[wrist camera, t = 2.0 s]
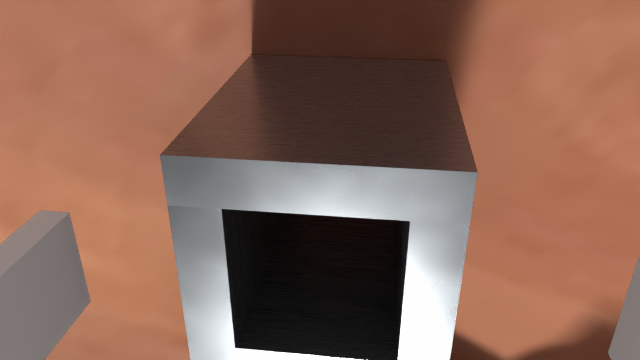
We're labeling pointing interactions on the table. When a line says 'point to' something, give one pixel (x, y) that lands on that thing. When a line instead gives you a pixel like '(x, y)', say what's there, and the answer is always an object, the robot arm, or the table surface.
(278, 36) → the table surface
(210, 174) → the socket
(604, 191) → the table surface
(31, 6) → the table surface
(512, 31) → the table surface
